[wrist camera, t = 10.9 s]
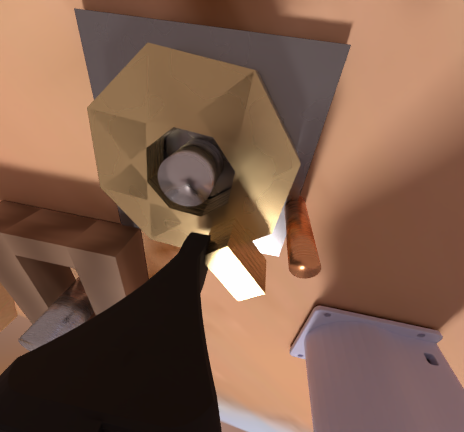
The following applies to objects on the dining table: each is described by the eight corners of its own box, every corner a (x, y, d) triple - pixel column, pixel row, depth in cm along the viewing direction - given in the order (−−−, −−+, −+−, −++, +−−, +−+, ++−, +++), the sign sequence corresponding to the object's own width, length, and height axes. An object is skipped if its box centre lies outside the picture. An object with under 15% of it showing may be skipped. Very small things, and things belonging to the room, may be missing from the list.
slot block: (140, 228, 16) (115, 257, 13) (157, 337, 25) (144, 366, 22) (3, 200, 16) (-46, 222, 14) (68, 316, 25) (46, 342, 23)
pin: (106, 274, 19) (50, 342, 14) (114, 295, 21) (65, 362, 16) (76, 268, 20) (10, 333, 15) (86, 289, 21) (29, 353, 16)
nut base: (362, 48, 8) (449, 22, 4) (287, 252, 15) (293, 322, 10) (84, 11, 9) (-71, -40, 5) (126, 219, 15) (72, 273, 11)
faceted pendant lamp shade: (221, -5, 8) (181, -67, 4) (328, 216, 12) (349, 272, 8) (84, 132, 11) (6, 156, 8) (201, 263, 15) (182, 315, 12)
